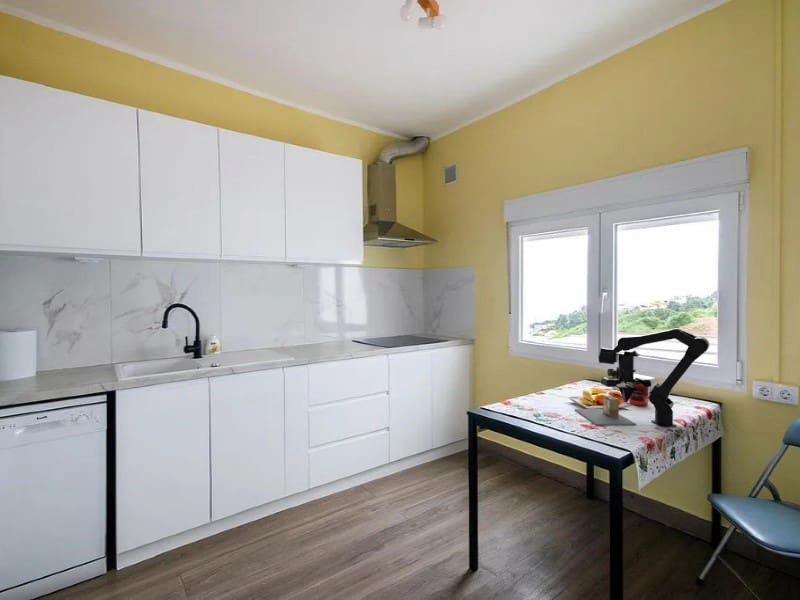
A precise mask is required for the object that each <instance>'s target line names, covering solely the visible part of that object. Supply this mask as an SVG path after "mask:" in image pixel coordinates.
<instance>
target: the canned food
mask: <svg viewBox="0 0 800 600" xmlns="http://www.w3.org/2000/svg"><path fill="white" fill-rule="evenodd" d="M636 387H638V389H635V391H634V392H633V393H632V395H631V397H630V398H629V400H628V402H629V404H630V405H633V406H635V407H647V406H648V404H649V403H648V402H649V397H648V387H644V386H643V385H642V384H636Z"/></svg>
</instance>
